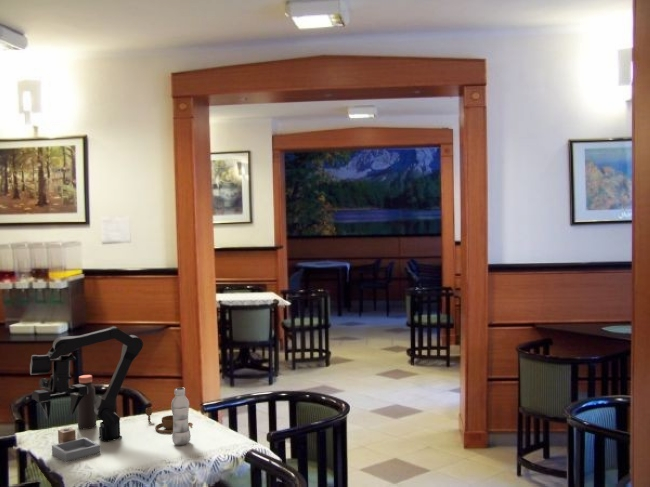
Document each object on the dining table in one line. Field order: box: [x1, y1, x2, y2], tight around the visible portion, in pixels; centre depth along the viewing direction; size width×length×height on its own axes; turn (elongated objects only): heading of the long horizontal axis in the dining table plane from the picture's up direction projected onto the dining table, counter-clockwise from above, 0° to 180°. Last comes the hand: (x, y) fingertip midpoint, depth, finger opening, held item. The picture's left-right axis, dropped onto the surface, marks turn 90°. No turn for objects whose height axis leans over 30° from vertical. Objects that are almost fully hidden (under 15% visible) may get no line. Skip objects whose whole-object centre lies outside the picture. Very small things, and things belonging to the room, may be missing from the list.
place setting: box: [145, 407, 193, 434], centre depth 268 cm, size 18×20×6 cm
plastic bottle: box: [170, 387, 192, 446], centre depth 246 cm, size 6×7×20 cm
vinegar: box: [76, 374, 97, 430], centre depth 269 cm, size 7×7×20 cm
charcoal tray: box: [51, 436, 101, 464], centre depth 238 cm, size 12×12×3 cm
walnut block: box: [57, 427, 77, 444], centre depth 246 cm, size 4×4×6 cm
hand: (59, 416), depth 246 cm, fingers open, 9 cm apart
